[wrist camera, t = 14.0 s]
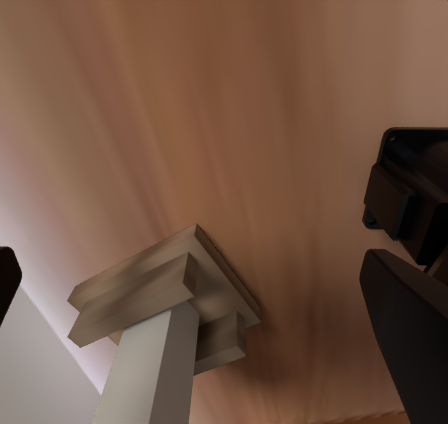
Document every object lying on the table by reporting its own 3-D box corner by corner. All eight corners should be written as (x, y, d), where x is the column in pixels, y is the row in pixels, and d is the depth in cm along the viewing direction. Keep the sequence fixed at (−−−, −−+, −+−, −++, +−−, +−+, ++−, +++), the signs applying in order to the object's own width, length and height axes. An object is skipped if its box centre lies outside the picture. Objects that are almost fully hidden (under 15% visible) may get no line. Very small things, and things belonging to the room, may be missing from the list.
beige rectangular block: (176, 287, 23) (128, 526, 12) (199, 314, 24) (175, 552, 13) (131, 308, 24) (50, 545, 13) (155, 333, 25) (100, 567, 14)
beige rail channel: (196, 223, 22) (189, 266, 18) (259, 307, 26) (265, 357, 22) (75, 286, 25) (47, 335, 21) (148, 353, 29) (135, 405, 25)
